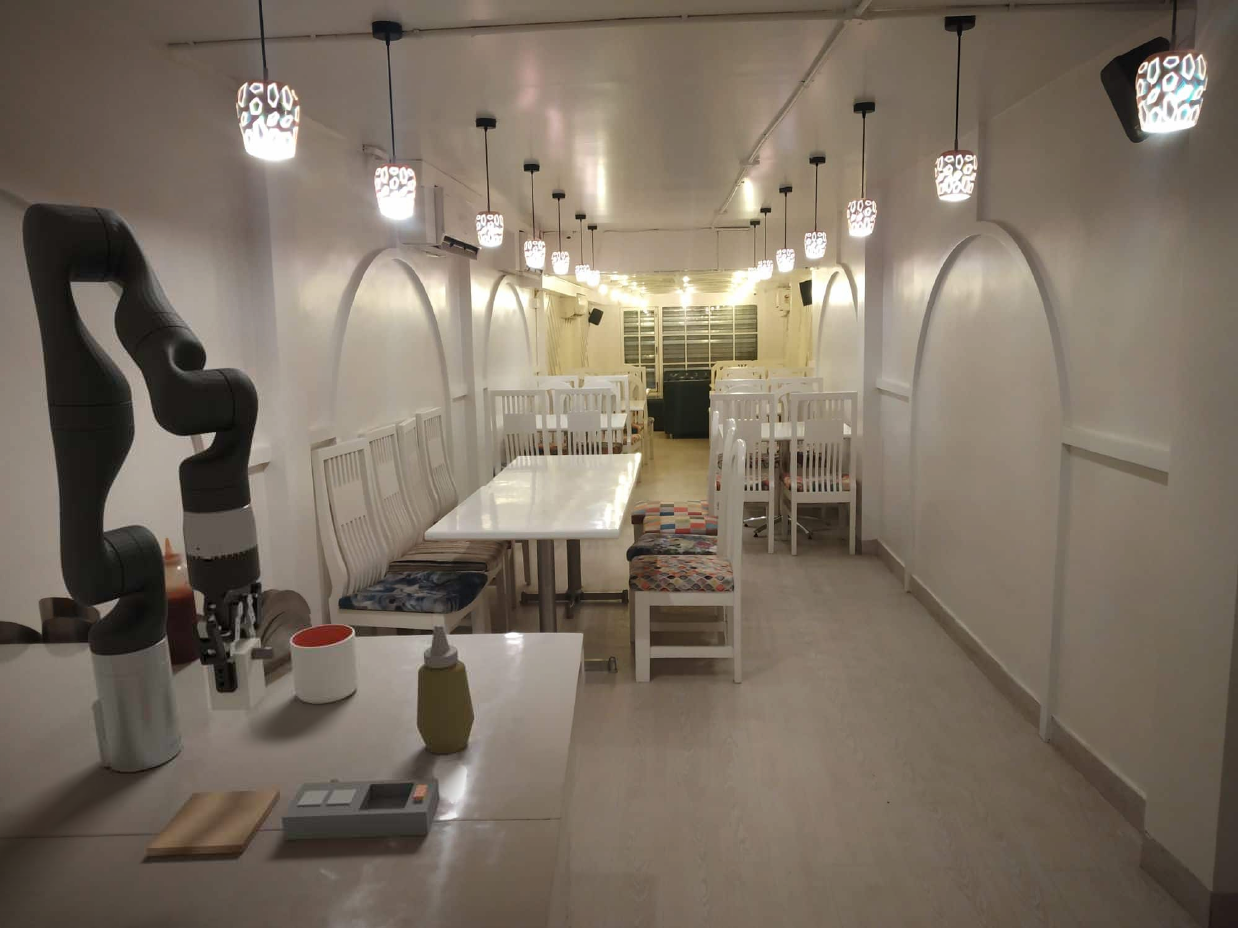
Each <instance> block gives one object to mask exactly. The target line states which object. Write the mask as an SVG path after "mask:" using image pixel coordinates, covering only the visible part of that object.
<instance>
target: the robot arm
mask: <svg viewBox="0 0 1238 928" xmlns="http://www.w3.org/2000/svg"><path fill="white" fill-rule="evenodd" d="M22 219H23V220H22V227H21V229H22V242H23V243H22V244H23V251H24V257H25V261H26V266H27V267H26V268H27V272H28V277H29V282H30V287H31V290H32V291H31V292H32V295H33V300H34V301H33V302H34V306H35V310H36V315H37V320H38V325H39V333H40V340H41V346H42V354H43V356H42V357H43V363H44V365H43V366H44V377H45V387H46V390H45V391H46V401H47V410H48V416H49V425H50V433H51V438H52V444H53V450H54V457H55V458H54V459H55V466H56V474H57V475H56V476H57V486H58V498H59V499H58V501H59V503H58V504H59V552H60V553H59V554H60V555H59V557H60V558H59V559H60V568H61V573H62V578H63V583H64V584H65V587H66V590H67V592H68V594H69V595H70V597H71V599H73V600H74V602H76V604H78V605H80V606H84V607H93V606H98V605H102V604H105V603H106V604H107V603H109V602H112V601H115V600H117V602H116V604H115V605H114V606H113V608H112V609H111V610H109V612H108V613H106V615H104V616H103V617H102V618H100V620H98V621H97V622H96V623H94V624H93V625H92V627H91V628H90V629H89V631H88V637H87V639H88V645H89V646H88V647H89V651H90V658H91V664H92V668H93V669H92V670H93V675H94V681H95V688H96V693H97V694H96V695H97V699H96V700H95V701H94V702H93V703H92V705H91V710H92V715H93V716H92V717H93V722H94V729H95V736H96V741H97V745H98V746H97V748H98V752H99V758H100V764H101V765H100V766H101V768H105V767H104V766H109V767H111V768H110V769H111V770H112V769H113V770H112V771H115V772H118V771H120V772H121V773H133V772H139V771H144V770H145V771H146V770H149V769H151V768H155V767H157V766H159V765H163V764H165V763H166V762H168V761H170V760H171V759H174V756H175V757H176V756H177V755H179V754H180V752H179V751H182V749H181V748H183V741H182V732H181V726H180V718H179V717H180V716H179V710H178V704H177V698H176V697H177V695H176V690H175V682H174V676H173V668H172V667H173V666H172V662H171V660H172V659H171V655H170V654H171V653H170V648H169V640H168V635H167V634H168V633H167V626H166V625H167V622H168V621H167V620H168V616H169V612H168V611H169V608H168V599H167V597H168V595H167V585H166V571H165V562H164V556H163V552H162V548H161V546H160V542H159V541H158V539H157V537H156V536H155V534H154V533H153V532H152V531H151V530H150V529H149V528H147V527H146V526H143V525H138V524H131V525H127V526H122V527H118V528H113V529H111V530H106V531H105V530H104V521H105V520H104V518H105V507H106V503H107V499H108V495H109V493H110V490H111V488H112V487H113V485H114V482H115V480H116V478H117V476H118V474H119V473H120V471H121V469H122V467H123V465H124V463H125V461H126V460H127V459H126V458H127V457H128V456H129V452H130V450H131V448H132V446H133V442H134V439H135V433H136V430H135V427H136V425H135V413H134V404H133V395H132V389H131V385H130V384H129V381H128V379H127V377H126V376H125V374H124V373H123V371H122V370H121V368H119V366H118V365H117V363H116V361H114V360H113V359H112V358H111V356H109V354H108V352H106V351H105V350H104V348H103V347H102V346H101V345H100V344H99V342H97V340H96V339H95V337H94V336H93V335H92V333H91V332H90V331H89V330H88V328H87V326H86V325H85V323H84V322H83V320H82V318H81V316H80V313H79V310H78V308H77V306H76V305H77V304H76V302H75V300H74V299H75V298H74V295H73V291H72V286H71V285H72V284H71V283H107V282H112V283H115V284H116V285H117V286H119V288H121V289H122V292H121V295H120V297H119V299H118V302H117V305H116V308H115V313H114V317H113V319H114V328H115V333H116V335H117V339H118V340H119V342H120V344H121V346H122V347H123V349H124V350H125V351H126V352H127V354H128V356H129V357H130V358H131V360H132V361H133V362H134V364H135V365H136V366H137V368H138V369H139V370H140V372H141V373H142V374H141V375H142V377H143V380H144V382H145V385H146V389H147V391H148V395H149V401H150V404H151V405H150V406H151V411H152V414H153V417H154V420H155V421H156V423H157V424H158V425H159V426H160V427H161V428H162V429H163V430H165V431H166V432H168V433H170V434H171V435H175V436H179V437H189V436H190V437H191V436H198V435H204V434H213V433H215V435H214V437H213V440H212V442H211V444H210V446H209V447H208V448H206V449H204V450H202V451H201V452H198V453H196V454H193V455H190V456H189V457H186V458H185V459H183V460H182V461H181V463H179V466H178V480H179V487H180V496H181V505H182V517H183V518H182V533H183V534H182V535H183V543H184V551H185V552H184V553H185V560H186V567H187V578H188V584H189V587H190V588H191V589H193V590H194V591H195V592H196V591H197V592H199V593H201V594H202V595H203V604H202V612H203V616H202V617H201V619H200V620H192V621H191V622H190V627H189V628H190V633H191V635H192V639H193V641H194V645H195V648H196V649H195V650H196V652H197V654H198V659H199V661H200V664H201V666H207V665H214V674H215V683H216V690H217V692H219V693H233V692H234V691H235V690H236V689H237V688H238V684H237V675H236V665H235V661H234V659H235V642H236V641H238V640H239V638H257V637H256V636H257V635H256V631H258V632H259V631H260V630H261V628H262V582H260V581H258V580H259V579H260V578H261V562H260V555H259V554H260V553H259V545H258V544H259V543H258V534H257V525H256V518H255V513H254V511H253V507H252V505H253V504H252V499H251V487H250V478H249V463H250V457H251V451H252V444H253V439H254V435H255V429H256V426H257V425H256V424H257V420H258V413H259V398H258V397H259V396H258V392H257V389H256V386H255V384H254V383H253V381H252V379H251V378H250V377H249V375H247V374H246V373H245V372H244V371H242V370H240V369H238V368H235V367H223V368H221V367H219V368H210V369H209V368H208V369H205V366H206V363H207V352H206V350H205V347H204V345H203V344H202V342H201V341H200V340H199V338H198V337H197V335H196V334H195V333H194V331H192V329H191V328H190V326H189V325H188V324H187V323H186V322H185V321H184V320H183V318H182V317H181V315H179V313H178V312H177V311H176V309H175V308H174V307H173V305H172V303H171V302H170V301H169V299H168V298H167V295H166V293H165V292H164V290H163V289H162V286H161V284H160V282H159V279H158V278H157V275H156V273H155V271H154V269H153V267H152V265H151V263H150V261H149V260H148V257H147V255H146V253H145V251H144V249H143V247H142V245H141V244H140V242H139V240H138V238H137V236H136V234H135V232H134V231H133V229H132V228H131V225H129V223H128V222H127V221H126V220H125V218H124V217H123V216H122V215H121V214H119V213H118V212H116V211H114V210H112V209H107V208H103V207H94V206H85V205H84V206H83V205H74V204H73V205H72V204H71V205H70V204H59V203H45V202H44V203H42V202H36V203H33V204H31V205H29V206H28V207H27V208H26V210H25V212H24V216H23V218H22ZM221 632H222V633H223V632H224V633H225V632H227V633H228V632H229V633H228V634H222V633H221ZM223 642H224V643H226V650H225V647H224V643H223ZM208 652H209V653H208ZM109 767H108V768H109ZM120 772H119V773H120Z"/></svg>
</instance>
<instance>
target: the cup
mask: <svg viewBox="0 0 1238 928" xmlns="http://www.w3.org/2000/svg"><path fill="white" fill-rule="evenodd" d="M289 648H290V649H289V650H290V655H291V656H290V658H291V667H292V675H293V682H294V683H293V685H294V692H295V695H296V696H297V698H298V699H299V700H301V701H302V702H305V703H307V704H308V703H309V704H314V705H318V704H320V705H323V704H329V703H333V702H336V701H340V700H342V699H345V698H347V697H348V696H350V695H351V694H353V693H354V692H355V691H356V690H357V688H358V687H359V684H360V673H359V663H358V652H357V642H356V633H355V629H354V628H353V627H352V626H349V625H347V624H340V623H332V624H330V623H329V624H320V625H317V626H316V625H315V626H312V627H308V628H305V629H302V630H300V631H298V632H296V633H295V634H294V635H292V636H291V638H290V639H289Z"/></svg>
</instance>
